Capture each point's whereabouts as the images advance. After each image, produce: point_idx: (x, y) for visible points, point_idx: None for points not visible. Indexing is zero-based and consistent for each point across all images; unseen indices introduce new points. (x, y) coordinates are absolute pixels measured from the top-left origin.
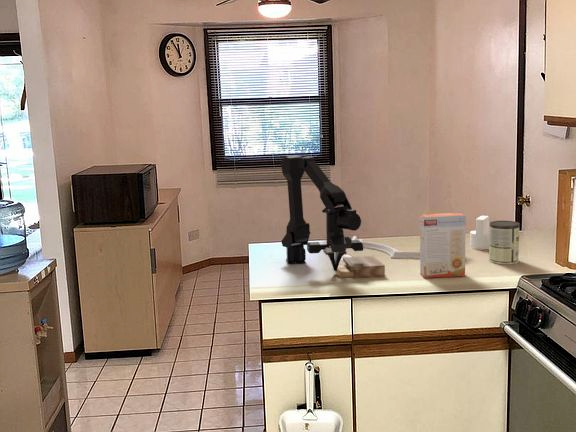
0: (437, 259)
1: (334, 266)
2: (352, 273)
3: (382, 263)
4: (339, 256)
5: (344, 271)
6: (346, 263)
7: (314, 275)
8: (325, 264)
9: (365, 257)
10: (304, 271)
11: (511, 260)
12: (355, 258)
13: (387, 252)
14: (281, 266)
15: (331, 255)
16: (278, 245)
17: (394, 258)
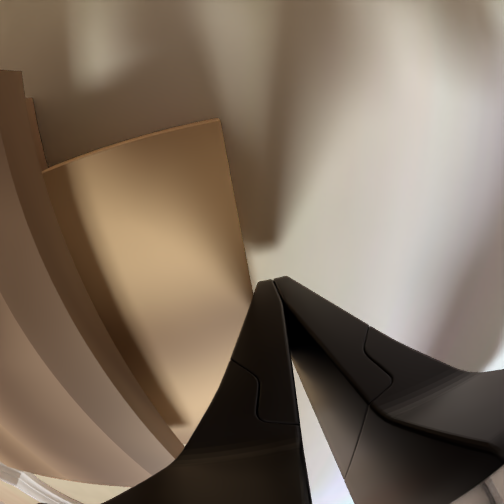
0: None
1: (303, 302)
2: (49, 168)
3: None
4: (246, 455)
5: (147, 201)
6: (135, 391)
7: (451, 217)
8: (308, 445)
9: (28, 461)
10: (464, 316)
11: None
12: (83, 464)
13: (61, 497)
14: (491, 369)
15: (496, 390)
16: None
17: None
